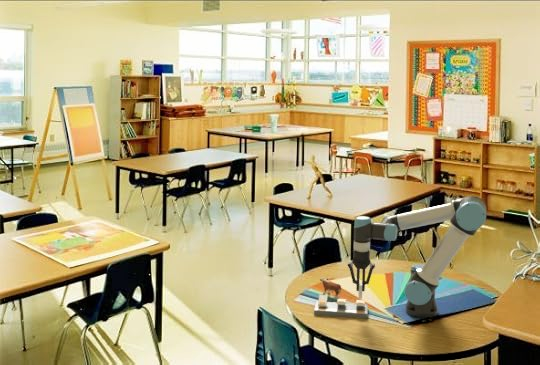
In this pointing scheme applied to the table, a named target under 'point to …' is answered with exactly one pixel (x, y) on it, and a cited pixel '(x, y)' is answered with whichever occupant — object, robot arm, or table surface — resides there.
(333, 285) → the bull figurine
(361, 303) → the switch
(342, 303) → the switch middle
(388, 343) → the table surface
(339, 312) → the switch panel
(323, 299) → the switch
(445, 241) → the robot arm
